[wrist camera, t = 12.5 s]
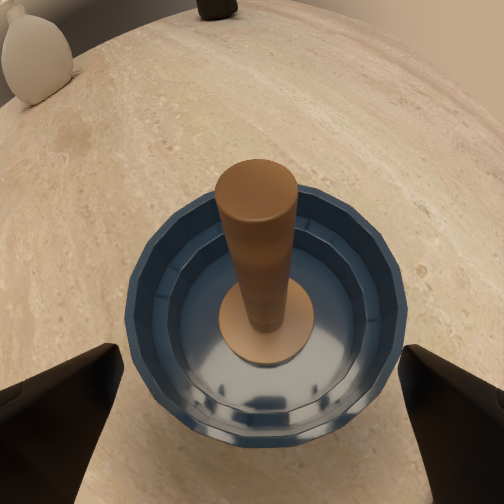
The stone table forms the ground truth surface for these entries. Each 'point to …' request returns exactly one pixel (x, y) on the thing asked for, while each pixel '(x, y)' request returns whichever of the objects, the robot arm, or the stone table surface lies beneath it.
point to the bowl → (266, 377)
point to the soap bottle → (34, 56)
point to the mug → (216, 8)
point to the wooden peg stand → (262, 264)
